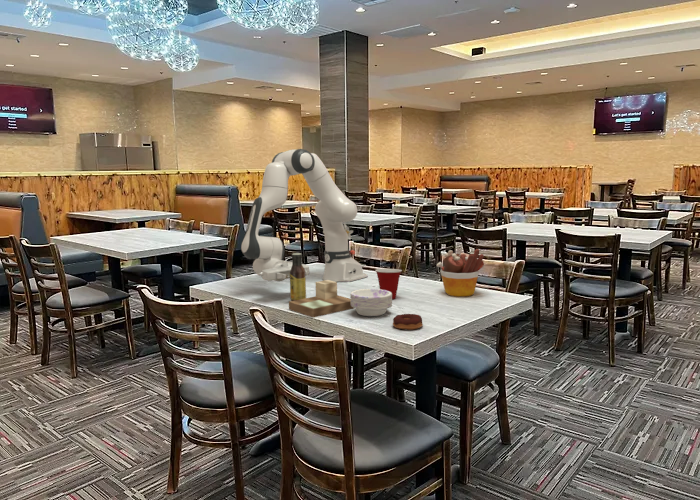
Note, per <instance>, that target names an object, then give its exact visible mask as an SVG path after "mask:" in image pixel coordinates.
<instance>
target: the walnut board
mask: <svg viewBox="0 0 700 500" xmlns="http://www.w3.org/2000/svg"><path fill="white" fill-rule="evenodd" d="M350 299H351V297H345V296H342V295H338V294H337V297H335V298H331V299H326V300H325V299H321V298H317V297H316V295H315V296H311V297H306V298H305V299H300V300H295V301H291V300H290V301H288V310H290V311H293V312H295V313H299V314H301V315H304V316H308V317H311V318H312V319H313V318H317V317H321V316H327V315H330V314H334V313H340V312H344V311H348V310H353V309H355V308H354V307H352V306H351V301H350Z"/></svg>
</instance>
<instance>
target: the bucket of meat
mask: <svg viewBox="0 0 700 500" xmlns="http://www.w3.org/2000/svg"><path fill="white" fill-rule="evenodd" d="M444 257H445V258H444V259H443V261H442V262H441V261H439V262H438V263H437V264H436V267H437V268H440V269H439V271H440V275H441V279H442V280H441V281H442V284H443V290H444V293H446V294H447V295H448V296H451V297H456V298H457V297H458V298H466V297H471V296H473V295H474V294H475V290H476V286H477V282H478V278H479V274H480V270H481V269H482V268H483V267H484V265H485V263H484V261H483V259H484V257H485V255H484V254H483V253H481V254H480V249H478V248H476V249H475V250H474V251H473V253H471V254H469V253H465V252H460V254H459V253H455V252H454V251H453V250H451V249H449V250H448V252H446V253H445V254H444Z"/></svg>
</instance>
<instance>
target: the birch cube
mask: <svg viewBox="0 0 700 500" xmlns="http://www.w3.org/2000/svg"><path fill="white" fill-rule="evenodd" d="M314 285H315V296H316V297H317V298H321V299H325V300H326V299H331V298H335V297H337V295H338V282H334V281H330V280H320V281H315V283H314Z"/></svg>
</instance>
